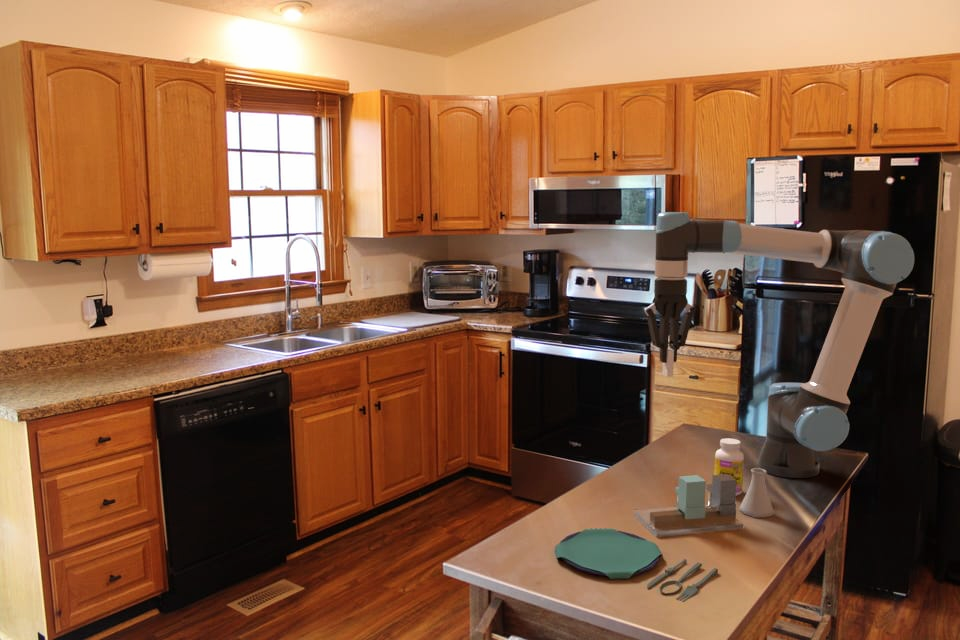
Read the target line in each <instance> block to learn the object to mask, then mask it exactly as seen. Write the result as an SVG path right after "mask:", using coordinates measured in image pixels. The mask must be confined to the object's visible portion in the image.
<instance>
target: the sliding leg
mask: <svg viewBox="0 0 960 640" xmlns="http://www.w3.org/2000/svg"><path fill="white" fill-rule="evenodd" d="M674 490H675V493H676V495H677V499H676V500H677V501H676V507H677V510H681V511H683V512H684V513H685V519H697V518H705V508H706V507H705V504H706V491H707V481H706V480H705V479H704V478H702V477H701V476H699V475H698V474H696V475H695V474H694V475H684V476H683V475H681V476H678V486H675V489H674Z"/></svg>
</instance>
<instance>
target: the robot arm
mask: <svg viewBox="0 0 960 640" xmlns="http://www.w3.org/2000/svg"><path fill="white" fill-rule="evenodd" d="M655 226H656V228H655V231H654V232H655V260H654V262H655V263H654V276H655V277H657V278H655V279H654V289H653V292H654V293H653V294H654V298H653V300H652V302H651V304H650V305H649V306H645V307H643V308H642V311H643V312H644V313H643V314H644V315H645V316H646V319H647V324H648V329H649V334H650V338H651V339H650V340H651V344H652V346H654V347H656V348H659V362H660V363H662V372H661V373H662V375H663V376H664V377H666V378H670V377H674V363H676V362H677V360H678V359H677V358H678V350H680V348H681V347H685V346H686V343H687V338H688V335H689V331H690V328H691V323H692V319H693V317H694V315H695V313H696V312H697V307H696V306H693V305H691V304H690V303H689V302H688V297H687V292H688V280H687V279H686V278H687V277H688V272H689V271H688V270H689V268H688V266H689V265H688V263H689V262H688V261H689V253H708V254H709V253H710V254H712V253H717V254H719V253H720V254H726V253H729V254H737V255H744V256H745V255H746V256H752V257H753V256H754V257H760V258H761V257H762V258H769V259H778V260H785V261H794V262H801V263H802V262H803V263H812V264H813V266H814V267H816V268H819V269H827V270H832V271H834V272H835V271H836V272H839V273H841V274H842V277H841V282H842V284H843V285H844V290H843V293H842V296H841V298H840V300H839V304H838V305H837V306H838V307H837V309H836V311H835V314H834V316H833V319H832V322H831V324H830V327H829V329H828V333H827V335H826V337H825V340H824V343H823V345H822V347H821V348H822V349H821V351H820V353H819V357H818V358H817V361H816V365H815V367H814V369H813V372H812V374H811V377H810V379H809V381H808V382H774V383H772V384H771V385H770V386H769V387H768V389H769V390H768V394H767V398H768V399H767V417H766V418H767V419H766V436H765V437H766V438H765V441H764V443H763V445H762V448H761V450H760V452H759V455H758V458H757V468H761V469H764V470H766V471H767V473H766V474H770V475H773V476H777V477H781V478H788V479H790V478H791V479H806V478H807V479H809V478H812V477H813V478H814V477H816V476H818V475H819V473H820V461H819V456H818V454H817V452H827V451H831V450H833V449H836V448H838V447H839V446H840V445H841V444H842V443H844V441H845V440H846V438H847V437H848V435H849V433H850V432H849V431H850V422H849V419H848V416H847V412H848V410H849V407H850V405H851V401H850V399H849V397H848V395H847V393H848V390H849V388H850V384H851V382H852V379H853V377H854V374H855V372H856V369H857V366H858V364H859V361H860V359H861V357H862V354H863V352H864V348H865V347H866V344H867V342H868V338H869V336H870V334H871V331H872V328H873V325H874V323H875V320H876V317H877V315H878V312H879V310H880V307H881V305H882V302H883V300H884V299H886V298H888V297H890V296H893V295H894V292H895V291H894V290H895V289H896V287H897V284H898V283H900V282H901V281H903V280H905V279H907V277H908V276H910V274H911V272H912V271H913V268H914V264H915V252H914V249H913V247H912V246H911V243H910V242H909V241H908V240H907V239H906V238H905V237H904V236H902V235H900V234H897V233H895V232H894V233H893V232H891V231H887V230H886V231H885V230H866V229H855V230H850V229H849V230H832V229H822V230H820V231H819V232H814V231H813V232H812V231H804V230H795V229H787V228H786V229H785V228H779V227H771V226H770V227H769V226H764V225H763V226H761V225H753V224H745V223H744V224H743V223H739V222H738V221H736V220H727V219H725V220H723V219H722V220H719V219H718V220H715V219H714V220H712V219H703V218H697V217H695V218H692V219H691V218H690V214H689V212H687V211H685V212H682V211H679V212H678V211H677V212H676V211H675V212H674V211H667V212H666V211H665V212H660V213H658V214H657V216H656V225H655ZM682 312H683V314H682ZM656 313H658V315H659V316H658V318H659V327H658V321H657V317H656ZM681 314H682V318H681Z"/></svg>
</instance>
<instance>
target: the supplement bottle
mask: <svg viewBox="0 0 960 640" xmlns="http://www.w3.org/2000/svg"><path fill="white" fill-rule="evenodd" d="M741 443H742V442H741V441H740V440H738V439H737V438H729V437H727V438H721V439H720V441H719V447H720V448H719V449H717V450H716V452H715V455H714V470H713V471H714V473H713V475H722V474H728V475H730V476H731V477H733V478H734V479H736V496H740V495H741V494H742V492H743V483H744V482H743V481H744V479H743V478H744V464H745V454H744V452H742V451H741V450H740V448H741V447H742V446H741Z"/></svg>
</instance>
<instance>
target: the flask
mask: <svg viewBox="0 0 960 640" xmlns="http://www.w3.org/2000/svg"><path fill="white" fill-rule="evenodd" d="M750 472H751V480H750V485H749V486H748V489H747V491H746V494H745V496H744V497H743V500H742V502H741V504H740V506H739V510H740V511H741V512H742V513H743V514H744V515H747V516H749V517H753V518H770V517H771V516H773V515H775V511H774V509H773V505H772V502H771V498H770V497H769V496H770V495H769V493H768V489H767V484H766V474H768V473H767V471H766V470H764V469H761V468H759V467H754V468H751V469H750Z"/></svg>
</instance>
